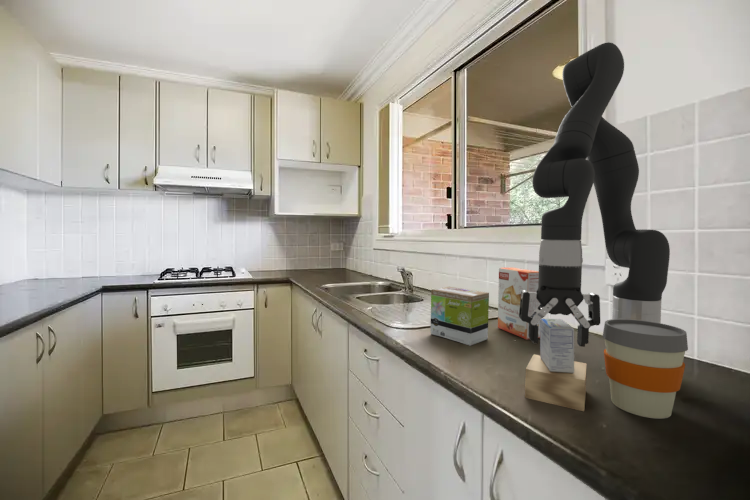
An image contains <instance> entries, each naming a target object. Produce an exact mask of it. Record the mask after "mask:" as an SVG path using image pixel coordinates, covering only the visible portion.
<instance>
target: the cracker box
mask: <svg viewBox="0 0 750 500" xmlns="http://www.w3.org/2000/svg"><path fill="white" fill-rule="evenodd" d="M538 278H539V270H532V269H524V268H518V267H498V295H497V296H498V297H497V299H498V300H497V301H498V304H497V309H498V310H497V329H500V330H502V331H504V332H507V333H510V334H511V335H513V336H517V337H519V338H522V339H524V340H530V339H529V336H528V335H529V323H527V322H524V321H522V320H521V319H520V318H519V309H520V299H521V292H522V291H523V290H525V291H527V292H537V290H538ZM539 304H540V303H539V301H538V300H537V299H536V298H534V299H533V301H532V302H531V303H529V310H528V316H531V314H532V313H533V312H534V310H535V309H536V308H537V307H538V305H539ZM540 321H541V320H540ZM540 321H539V322H538V323H537V325H538V339H540Z"/></svg>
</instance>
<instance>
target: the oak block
mask: <svg viewBox="0 0 750 500" xmlns="http://www.w3.org/2000/svg"><path fill="white" fill-rule="evenodd" d="M587 364H588V363H586V362H582V361H576V360H574V373H561V372H551V371H550V370H549V369H548V368H547V366H546V365H545V363H544V362H543V361H542V359H541V358H540V354H535V353H534V354H533V355H532V357H531V358H530V360H529V362H528V364H527V365H526V368H525V378H524V379H525V380H524V381H525V382H524V383H525V384H524V385H525V386H524V398H525V399H529V400H533V401H538V402H542V403H547V404H550V405H554V406H559V407H564V408H567V409H571V410H572V409H573V410H575V411H582V412H585V405H586V392H587V366H588V365H587Z"/></svg>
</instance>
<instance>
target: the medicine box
mask: <svg viewBox="0 0 750 500" xmlns="http://www.w3.org/2000/svg"><path fill="white" fill-rule="evenodd" d="M539 339H540V340H539V342H540V344H539V355H540V358H541V359H542V361H543V362H544V363H545V365H546V366H547V368H548V369H549V370H550V371H551V372H561V373H574V361H575V329H574V327H572V326H571V325H569V324H568V323H567V322H566V321H565V320H563V319H561V318H542V319H541V321H540V338H539Z"/></svg>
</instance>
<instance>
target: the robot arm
mask: <svg viewBox="0 0 750 500" xmlns="http://www.w3.org/2000/svg"><path fill="white" fill-rule="evenodd" d="M562 68H563V69H562V84H563V87H564V91H565V93H566V97H567V99H568V102H569V104H570V106H571V107H570V109H569V110H568V112H567V113H566V114H565V115H564V117H563V119H562V120H561V122H560V125H559V127H558V130H557V132H556V135H555V137H554V142H553V144H552V146H551V147H550V148H549V149H548V150H547V152H546V154H545V155H544V156H543V157H542V158H541V160H540V162H539V163H538V165H536V167H535V170H534V173H533V175H532V181H531V182H532V184H531V185H532V189H533V190H534V193H535V194H536V195H537V196H539V197H540V198H542V199H553V198H554V199H555V198H567V200H566V201H565V203H564V204H563V205H562V206H560V207H557V208H554V209H550V210H547V211H545V212H543V214H542V216H541V223H540V225H541V227H540V228H541V231H540V239H541V240H540V245H539V249H538V250H539V251H538V271H539V278H538V290H537V292H527V291H525V290H523V291H522V292H521V299H520V309H519V318H520V319H521V320H522V321H524V322H527V323H529V335H528V336H529V339H528V340H530V341H531V342H532V344H535V345H537V344H538V343H539V338H538V325H537V323H538V322H539V321H540V320H541V319H544V318H545V317H546V316H547V314H550V315H555V316H556V315H563V316H569V315H572V316H573V318H574V319H575V320H576V322H577V323H578V325H577V334H576V336H577V337H576V338H577V339H576V343H577V345H578V346H579V347H584V348H585V347H586V345H587V344H588V343H589V336H590V335H589V333H590V328H591V327H594V326H600V325H601V297H600V295H599V294H596V293H594V292H588V293H582V274H583V273H582V268H583V261H584V260H583V259H584V258H583V247H582V230H583V228H582V226H583V225H582V224H583V217H584V213H585V209H586V205H587V202H588V199H589V197H590V193H591V192H592V187H594V190H595V195H596V199H597V202H598V208H599V211H600V217H601V222H602V223H601V224H602V229H603V237H604V243H605V251H606V254H607V256H608V257H609V260H610V261H611V262H612V263H613V264H614V265H616V266H618V267H621V268H627V269H628V275H627V277H626V279H624V280H623V281H620V282H617V283H614V285H613V288H612V308H611V309H612V311H611V319H631V320H642V321H650V322H656V323H661V320H662V300H663V299H662V297H663V292H664V291H665V289H666V286H667V283H668V274H669V267H670V265H669V264H670V255H671V253H670V249H671V247H670V242H669V240H668V238H667V237H666V235H665V234H664V233H663V232H661V231H659V230H657V229H636V226H635V223H634V218H633V215H632V200H633V197H634V194H635V191H636V187H637V183H638V180H639V176H640V168H639V163H638V160H637V155H636V151H635V146H634V143H633V141H632V140H631V139H630V138H629V136H627V135H626V134H625V133H623V132H622V131H621V130H620V129H618V128H617V127H615V126H614V125H613V124H612V123H610V122H609V121H607V120H606V119H605V118H604V117H603V115H604V113H605V111H606V109H607V108H608V105H609V104H610V102H611V99H612V98H613V96H614V94H615V92H616V90H617V88H618V86H619V84H620V83H621V80H622V78H623V75H624V71H625V59H624V55H623V53H622V51H621V49H620V48H619V47H618V46H617V45H616V44H614V43H613V42H610V41H608V42H604V43H601V44H599V45H596V46H594V47H593V48H591V49H589V50H587V51H586V52H584V53H582V54H581V55H579V56H577V57H575V58H573V59H571V60H570V61H568V62H567V63H566V64H565V65H564V67H562ZM534 298H536V299H537V300H538V301H539V303H540V304H539V305H538V307H537V308H536V309H535V310H534V312H533V313H532V314H531V316H528V310H529V303H531V302H532V301H533V299H534ZM583 301H584V303H585V304H586V305H587V306H588V308H587V311H588V317H587V318H586V317H585V315H584V314H583V312H582V311H581V310H580V308H579V305H580V304H581V303H582V302H583ZM661 324H662V323H661Z"/></svg>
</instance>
